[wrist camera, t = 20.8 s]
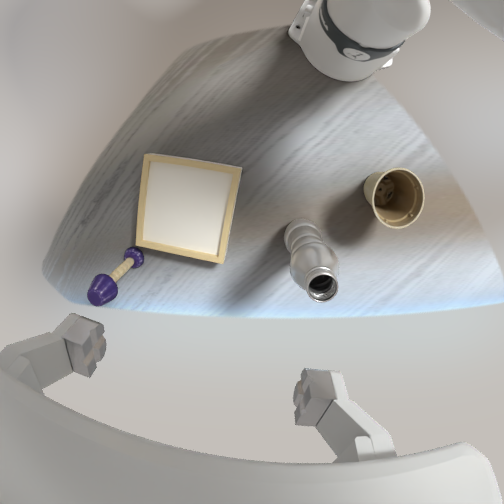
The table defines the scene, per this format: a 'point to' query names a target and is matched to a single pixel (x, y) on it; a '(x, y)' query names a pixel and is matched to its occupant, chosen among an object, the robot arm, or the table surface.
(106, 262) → the table surface
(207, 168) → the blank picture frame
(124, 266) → the toy lamp
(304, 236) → the plastic bottle
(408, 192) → the flower pot
